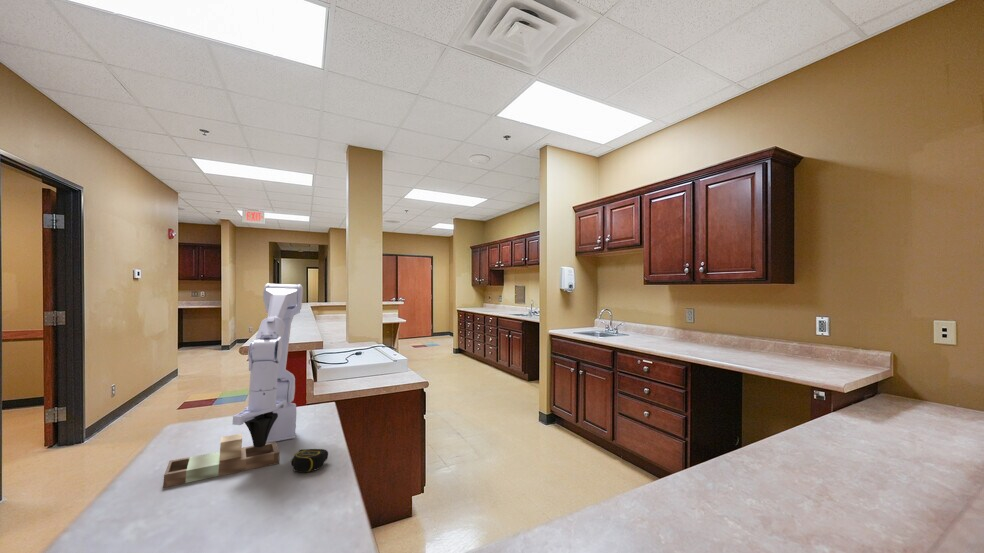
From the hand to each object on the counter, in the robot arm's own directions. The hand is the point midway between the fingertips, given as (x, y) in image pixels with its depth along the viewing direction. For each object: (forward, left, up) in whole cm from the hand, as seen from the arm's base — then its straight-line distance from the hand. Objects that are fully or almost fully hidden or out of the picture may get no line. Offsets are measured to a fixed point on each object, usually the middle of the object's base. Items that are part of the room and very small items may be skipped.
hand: (259, 446), depth 87 cm
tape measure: (-9, +10, -4) cm, 14 cm away
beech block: (+6, 0, -1) cm, 6 cm away
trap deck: (+6, 0, -3) cm, 7 cm away
